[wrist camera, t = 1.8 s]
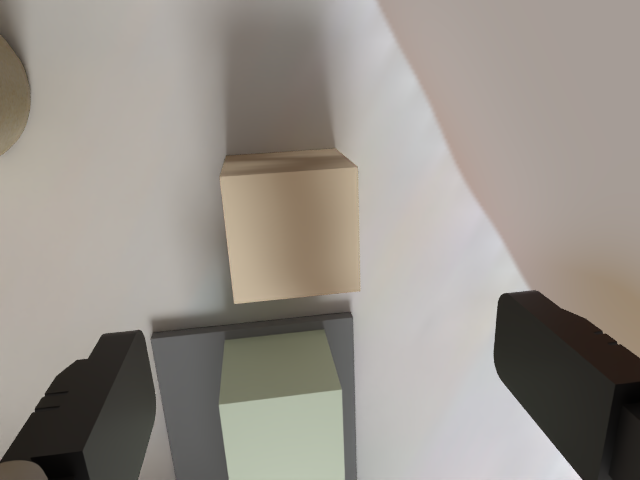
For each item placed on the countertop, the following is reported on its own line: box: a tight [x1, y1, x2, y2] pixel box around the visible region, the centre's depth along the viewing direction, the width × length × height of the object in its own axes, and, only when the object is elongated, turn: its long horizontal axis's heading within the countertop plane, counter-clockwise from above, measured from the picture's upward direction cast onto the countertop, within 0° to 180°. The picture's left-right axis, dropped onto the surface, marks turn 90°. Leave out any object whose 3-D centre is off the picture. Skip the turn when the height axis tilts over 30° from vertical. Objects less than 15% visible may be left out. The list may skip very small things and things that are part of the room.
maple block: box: [220, 148, 360, 304], centre depth 20 cm, size 5×5×5 cm
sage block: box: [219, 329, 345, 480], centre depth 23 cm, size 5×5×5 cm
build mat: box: [151, 312, 357, 480], centre depth 26 cm, size 10×12×1 cm
